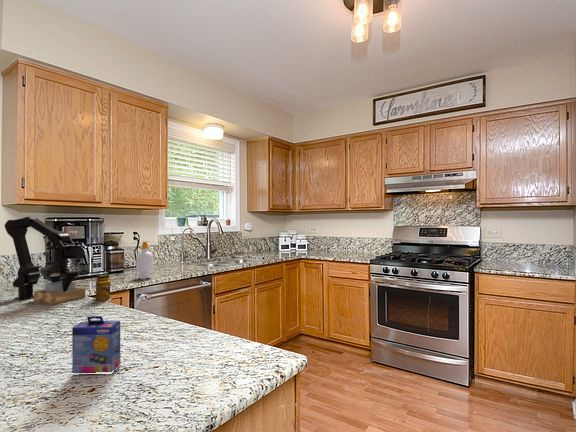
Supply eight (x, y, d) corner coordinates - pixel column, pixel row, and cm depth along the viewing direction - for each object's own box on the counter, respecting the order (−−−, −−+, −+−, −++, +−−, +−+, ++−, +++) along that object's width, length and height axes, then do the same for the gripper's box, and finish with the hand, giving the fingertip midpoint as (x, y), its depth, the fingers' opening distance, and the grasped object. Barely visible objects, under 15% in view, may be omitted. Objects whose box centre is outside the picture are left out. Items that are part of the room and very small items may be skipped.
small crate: (54, 295, 158) (54, 285, 158) (45, 294, 161) (45, 284, 161) (74, 291, 168) (74, 281, 168) (66, 290, 170) (66, 280, 170)
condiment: (111, 300, 161) (111, 275, 162) (91, 303, 157) (91, 277, 157) (110, 297, 168) (110, 273, 168) (90, 300, 163) (90, 275, 163)
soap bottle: (156, 278, 224) (156, 241, 224) (142, 280, 215) (142, 242, 215) (146, 276, 229) (146, 241, 229) (132, 278, 220) (133, 241, 221)
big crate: (34, 301, 160) (34, 291, 160) (65, 294, 174) (65, 285, 174) (54, 304, 154) (54, 294, 154) (85, 297, 168) (85, 288, 168)
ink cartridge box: (70, 377, 83) (70, 318, 83) (82, 367, 89) (82, 311, 89) (112, 375, 84) (112, 317, 84) (121, 365, 90) (121, 311, 90)
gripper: (30, 259, 161) (30, 292, 161) (55, 261, 153) (55, 296, 153) (54, 257, 171) (54, 288, 171) (79, 259, 164) (79, 291, 163)
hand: (60, 291), depth 164 cm, fingers closed on small crate, 6 cm apart
